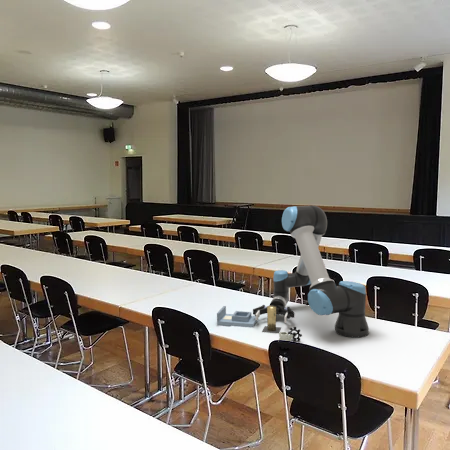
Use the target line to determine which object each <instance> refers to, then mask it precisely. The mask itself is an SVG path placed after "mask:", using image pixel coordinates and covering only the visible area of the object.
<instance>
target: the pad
mask: <svg viewBox="0 0 450 450" xmlns="http://www.w3.org/2000/svg"><path fill="white" fill-rule="evenodd" d="M281 329H282V327H279V326H276V330H275V331H268V330H267V326H266V325H265V326H264V327H263V328H262V330H261V333H268V334H269V333H270V334H279V333H280V332H281Z"/></svg>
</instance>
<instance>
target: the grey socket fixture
mask: <svg viewBox="0 0 450 450" xmlns="http://www.w3.org/2000/svg"><path fill="white" fill-rule="evenodd" d="M257 322H258V320H256V316H255V315H252V311H242V310H241V311H240V310H235V311H234V313H233V314H232V313H227V306H226V305H223V306H222V307H221V308H220V309H219V310H218V311H217V312H216V325H217V326H223V327H224V326H225V327H232V326H233V327H242V328H244V327H245V328H255V326H256V324H257Z"/></svg>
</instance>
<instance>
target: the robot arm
mask: <svg viewBox="0 0 450 450" xmlns="http://www.w3.org/2000/svg"><path fill="white" fill-rule="evenodd" d="M281 226H282V228H283V230H284V231H286V232H289V233H290V236H291V237H292V238H293V239H295V241H296V244H297V246H298V250H299V252H300V257H299V259H298V262H297V267H296V270H295V272H292V273H288V272H289V271H287V270H283V269H282V270H279V269H278V270H275V271H274V272H273V277H272V278H273V279H272V280H273V298H272V300H271V302H270V303H269V305H268V306H276V315H282V316H283V317H284V323H287V321H288V320H290V318H293V319H294V318H295V316H296V315H295V312H294V310H292V309H291V308H290V307H291V306H287V304H288V303H289V299H290V298H289V297H290V296H289V289H290V288H291V289H292V288H296V287H305V286H309V292H308V293H307V302H308V305H309V307H310V309H311V310H312V312H314V314H316V315H319V316H329V315H332V314H337V315H338V316H337V318H336V321H335V324H334V332H335V333H336V334H338V335H340V336H343V337H348V338H362V337H367V336H368V335H369V333H370V332H369V330H370V328H369V324H368V322H367V318H366V297H367V296H366V295H367V293H366V292H367V291H366V286H365V285H364V284H362V283H360V282H355V281H349V280H342V281H339V283H338V285H337V284H336V282H335V280H334V279H331V278H330V276H329V273H328V271H327V268H326V266H325V263H324V260H323V257H322V255H321V252H320V249H319V246H320V243H321V240H322V237H323V236H324V235H325V234H326V232H327V228H328V219H327V215H326V213H325V211H324V210H323V209H322V207H321V208H320V207H319V206H317V205H300V206H299V205H297V206H296V205H295V206H288V207H286V208H285V209H284V210H283V213H282V217H281ZM268 306H266V305H265V304H262V305H260V306H258V307H256V308H253V309H252V316H256V320H257V321H258V320H259V318H260V317H261V315H265V314H266V315H267V307H268ZM286 306H287V307H286Z"/></svg>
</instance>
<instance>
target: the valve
mask: <svg viewBox="0 0 450 450" xmlns="http://www.w3.org/2000/svg"><path fill="white" fill-rule="evenodd" d="M288 330H289V331H288V332H287V331H280V332H279V333H278V341H279V340H286V341H290V342H291V341H292V340H293V342H296V341H297V342H299V341H301V337H303V335H302V333H300V332H301V329H297V326H294V327H289V329H288ZM294 331H295V332H294Z"/></svg>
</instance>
